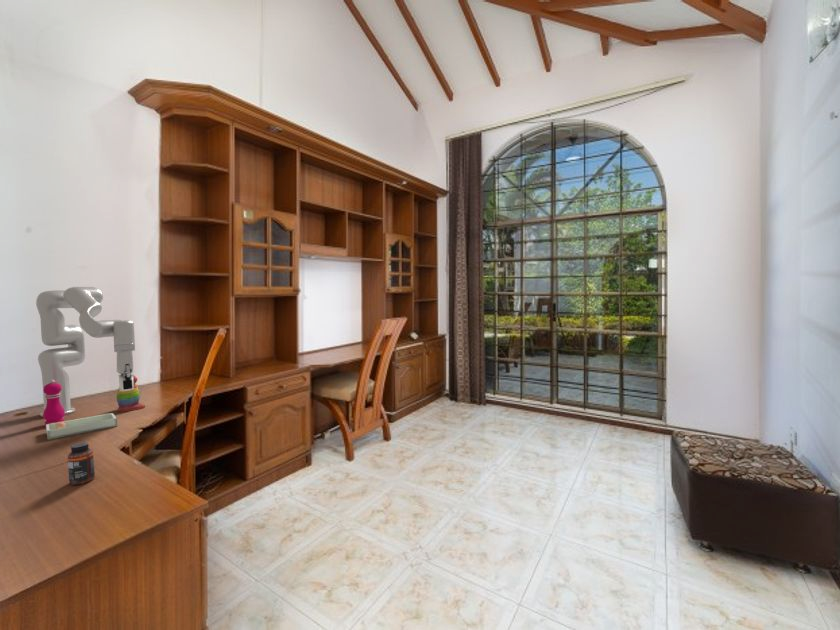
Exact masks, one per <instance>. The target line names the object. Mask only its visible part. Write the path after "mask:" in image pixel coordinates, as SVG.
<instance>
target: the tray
mask: <svg viewBox="0 0 840 630" xmlns="http://www.w3.org/2000/svg"><path fill="white" fill-rule="evenodd" d="M58 423H59V422H58ZM63 423H65V425H66V426H65V428H59V429H56V428H55V426H56V424H57V423H52V424H46V426H45V428H46V429H45V430H46V438H47V440H48V441H49V440H55V439H59V438H65V437H68V436H70V437H71V436H74V435H79V434H80V435H81V434H85V433H91V432H95V431H100V430H106V429H110V428H111V429H112V428H117V427H118V418H117V417H116V415H115V414H114V412H110V413H103V414H99V415H93V416H86V417H81V418H76V419H71V420H69V419H68V420H64V421H63Z"/></svg>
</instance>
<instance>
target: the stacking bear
mask: <svg viewBox="0 0 840 630" xmlns="http://www.w3.org/2000/svg"><path fill="white" fill-rule="evenodd" d="M133 382H134V389H133V390H130V391H120V389H119V388H118V389H117V392H116V402H117V405H118V408H117V411H118V412H130V411H131V412H132V411H137V410H141V409H144V408H146V406H145V404H144V403H140V397H141V396H140V395H141V394H140V390H139V387H138V385H137V384H136V383H137V382H138V377H136V376H135V375H134V376H133Z"/></svg>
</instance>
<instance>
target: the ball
mask: <svg viewBox="0 0 840 630" xmlns="http://www.w3.org/2000/svg"><path fill="white" fill-rule="evenodd" d="M65 426H66V425H65V423H63V422H59V423H57V424H56V426H55V428H56V429H59V428H65Z"/></svg>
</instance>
